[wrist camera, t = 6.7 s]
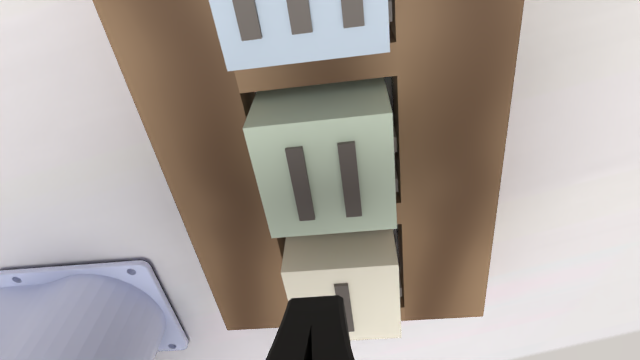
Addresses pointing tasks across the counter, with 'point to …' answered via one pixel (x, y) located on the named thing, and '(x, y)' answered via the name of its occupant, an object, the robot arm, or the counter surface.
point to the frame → (401, 63)
